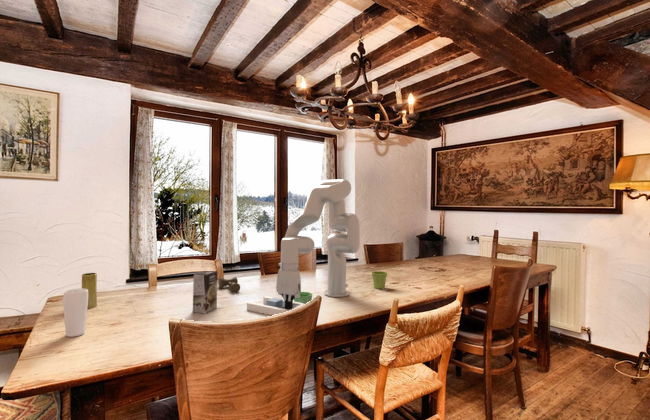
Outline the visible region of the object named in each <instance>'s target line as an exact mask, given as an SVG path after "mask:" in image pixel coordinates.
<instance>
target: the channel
mask: <svg viewBox="0 0 650 420" xmlns="http://www.w3.org/2000/svg"><path fill="white" fill-rule="evenodd" d="M271 298H274V297H272V296H266V295H265V296H264V297H262V299H263V302H262V303H258V302H253V301H248V302H246V310H247V311H250V312H254V313H259V314H263V313H264V315H268V314H269V315H268V316H272V315H274V314H279V313H283V312H286V311H289V310H287V309H285V308H277V307H273V306H268V305H266V300H269V299H271ZM282 299H283V298H282ZM304 304H305V303H300V302H294V300H293V307H292V309H294V308H297V307H300V306H302V305H304ZM283 307H285V301H284V299H283ZM292 309H290V310H292Z"/></svg>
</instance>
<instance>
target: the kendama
mask: <svg viewBox="0 0 650 420" xmlns="http://www.w3.org/2000/svg"><path fill="white" fill-rule="evenodd" d="M217 285H218V288H219V289H223V288H224V287H227V286H228V289H229V290H230V291H231V293H234V294H235V293H239V292H240V290H241V284H239V283H238V278H237V276H233V277H232V278H229V279H227V278H223V277H219V278H218V280H217Z"/></svg>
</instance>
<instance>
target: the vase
mask: <svg viewBox="0 0 650 420" xmlns="http://www.w3.org/2000/svg"><path fill="white" fill-rule="evenodd" d="M97 279H98V275H97V273H96V272H86V273H82V274H81V288H83V289H88V307H87V309H93V308H96V307H97V306H98V295H97V292H98V291H97V284H98V283H97V281H98V280H97Z"/></svg>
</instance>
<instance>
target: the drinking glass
mask: <svg viewBox="0 0 650 420" xmlns="http://www.w3.org/2000/svg"><path fill="white" fill-rule="evenodd" d="M62 297H63V300H62V305H63V315H64V325H65V326H64V327H65V337H68V338H75V337H79V336H82V335H83V334H85V332H86V322H87V313H88V308H87V307H88V289H83V288H82V287H81V288H72V289H68V290H65V291H63V296H62Z"/></svg>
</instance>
